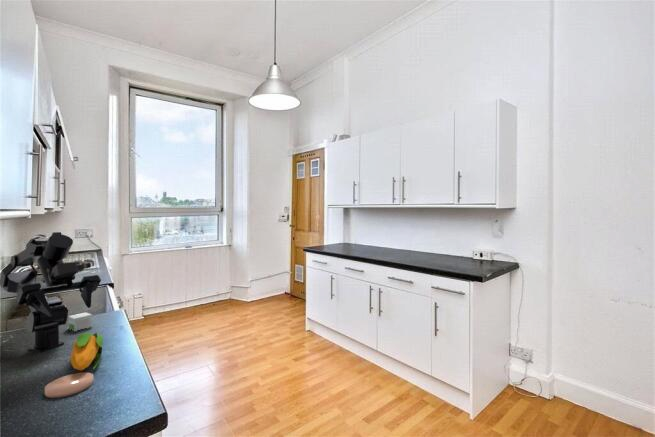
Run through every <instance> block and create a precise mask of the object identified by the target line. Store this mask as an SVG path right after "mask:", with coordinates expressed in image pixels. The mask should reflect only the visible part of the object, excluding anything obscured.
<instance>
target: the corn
mask: <svg viewBox="0 0 655 437" xmlns="http://www.w3.org/2000/svg"><path fill="white" fill-rule="evenodd" d="M103 345H104V339H103V337H102V335H101V334H99V333H98V332H95V333H94V334H92V332H84V333H81V334H79V335H78V337H77V338H76V340H75V341H74V343H73V346H72V349H71V353H70V357H69V358H70V362H69V364H70V367H71V369H73V370H78V371H83V370H85V369H86V368H88V367H90V365H91V364H92V362H93V369H92V370H94V369H95V368H96V367H97V366H98V364H99V362H100V360H101V357H102V352H103Z"/></svg>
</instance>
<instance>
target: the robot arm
mask: <svg viewBox="0 0 655 437" xmlns="http://www.w3.org/2000/svg"><path fill="white" fill-rule="evenodd" d="M73 244H74V239H73V238H71V237H70V236H68V235H65V234H62V232H61V231H56V232H55V231H54V232H52V233H51V236H49V237H46V238H43V237H42V238H31V239H30V240H29V241H28V242H27V243H26V245H25V246H26V247H25V249H23V250H22V251H20V252H19V253H17V254H14V255H12V256H11V258H10V262H9V263H8V264H7V265H6V266H5V267H4V268H3V269H2V270H1V274H0V288H2V289H3V290H4V291H6V292H7V293H13V294H16V297H15V301H16V303H17V305H19V306H23V305H24V306H25V307H28V308H29V309H30V312H29V315H28V317H27V318H26V321H25V322H24V326H25V330H26V331H27V332H30V333H32V334H33V345H31V346H29V347H27V350H30V351H34V352H41V353H42V352H44V351H47V350H51V349H53V348H56V347H60V346H61V345H65V341H61V340H60V331H59V327H60V326H65V325H67V321H68V316H69V309H68V307H67V305H65V304H64V301H63V300H61V299H60V298H59V297H58V296H51V297H48V296H46V295H47V294H52V293H61V292H68V291H74V290H78V291H79V293H80V297H81V299H82V300H83V302H84V304H85V306H86V307H87V308H88V309H91V307H92V295H93V292H95V291H96V290H97V288H98V287H99V286H100V283H101V281H102V279H101V276H100V275H98V274H91V275H84V276H83V277H82V279H81V281H77V282H73V281H74V280H76V275H77V274H78V273H79V272H82V271H84V270H85V268H86V267H85V264H84V262H83V260H80V259H79V260H77V259H76V260H74V261H70V262H64V259H66V258H67V257H68V254H69V253H70V251H71V248H72V247H73ZM35 262H36V263H37V266H36V267H35V266H34V263H35ZM22 266H30V268H31V270H26V271H25V270H24V271H19V272H13V271H15V269H16V268H17V267H22ZM36 268H37V269H36ZM37 270H40V271H39V272H40V273H41V276H42V279H41V280H42V283H43V284H44V283H45V285H46V286H42V285H41V283H39V282H36V281H37V275H38V271H37Z"/></svg>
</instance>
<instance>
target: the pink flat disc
mask: <svg viewBox="0 0 655 437" xmlns="http://www.w3.org/2000/svg"><path fill="white" fill-rule="evenodd" d="M94 376H95V375H94V374H93V373H91V372H77V373H71V374H67V375H65V376H64V375H63V376H61V377H59V378H56V379H54V380H53V381H51V382H49V383H48V384H46V385H45V387H44V396H45V397H47V398H50V399H53V398H55V399H58V398H63V397H68V396H72V395H75V394H77V393H80V392H82V391H85V390H86V389H88V388H89V387H91V386H92V385H93V383H94Z"/></svg>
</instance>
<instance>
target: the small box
mask: <svg viewBox="0 0 655 437" xmlns="http://www.w3.org/2000/svg"><path fill="white" fill-rule="evenodd" d="M67 318H68V329H69V328H70V329H69V330H71V329H72V330H71V331H73V330H74V331H73V332H75V331H76V332H78V331H77V330H80V329H84V328H87V329H89V328H88V327H91V326H93V324H94V322H93V314H91V313H89V312H87V311H86V312H80V313H77V314H72V315H68V316H67ZM93 327H94V326H93ZM91 328H92V327H91ZM84 330H85V329H84ZM80 331H81V330H80Z"/></svg>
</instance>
